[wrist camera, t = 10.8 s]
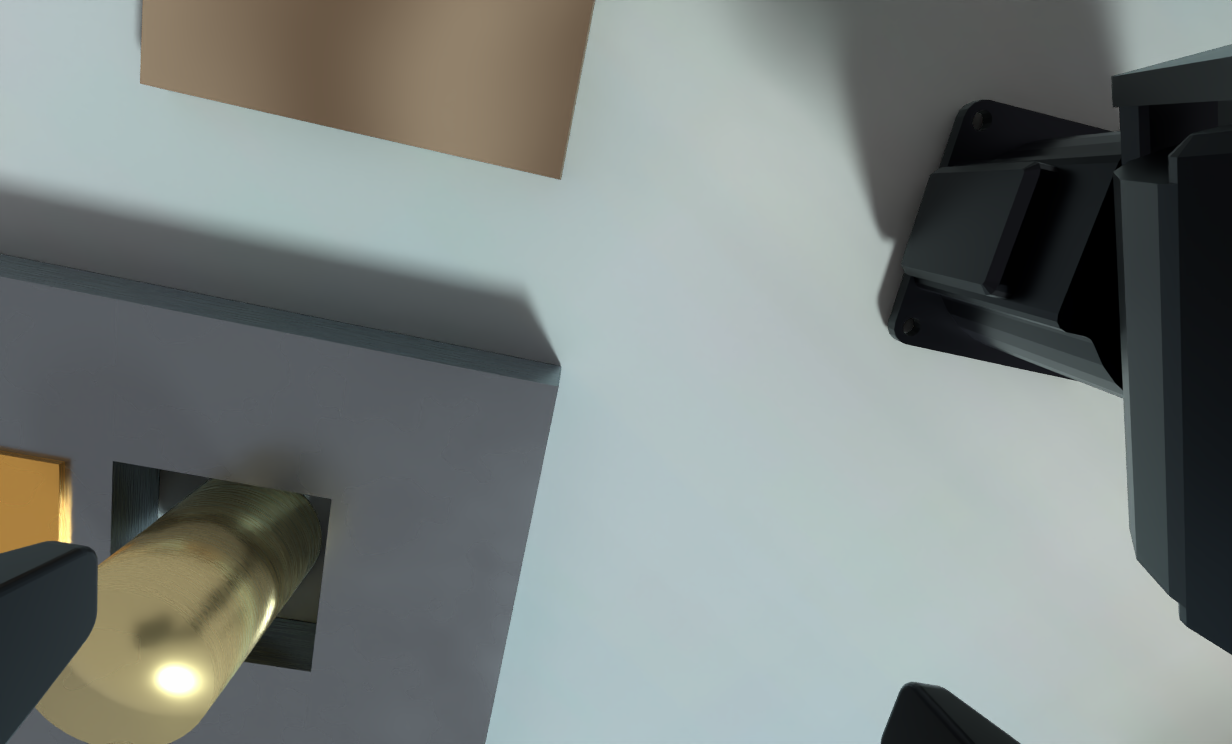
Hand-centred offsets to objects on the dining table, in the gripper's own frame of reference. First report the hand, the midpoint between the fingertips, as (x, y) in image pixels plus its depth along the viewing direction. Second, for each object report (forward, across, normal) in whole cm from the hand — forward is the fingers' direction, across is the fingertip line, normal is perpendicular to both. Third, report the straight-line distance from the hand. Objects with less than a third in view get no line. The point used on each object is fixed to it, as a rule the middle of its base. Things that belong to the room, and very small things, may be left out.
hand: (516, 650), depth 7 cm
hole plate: (+12, +8, +7) cm, 16 cm away
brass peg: (+12, +8, +7) cm, 16 cm away
